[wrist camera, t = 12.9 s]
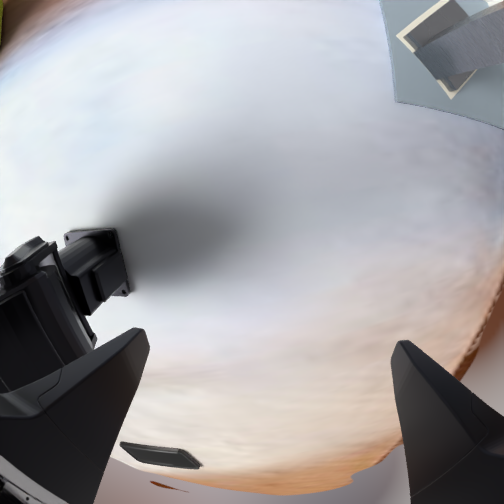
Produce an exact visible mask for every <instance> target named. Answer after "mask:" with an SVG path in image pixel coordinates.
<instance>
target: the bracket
mask: <svg viewBox="0 0 504 504" xmlns="http://www.w3.org/2000/svg"><path fill="white" fill-rule="evenodd" d="M403 38H404V39H405V40H406V41H407V42H408V43H409V44H410V45H411V46H412V47H413V48H414V50H415V51H414V52H413V53H414V55H415V56H416V57H417V58H418V59H419V60H420V61H421V62H422V64H423V65H424V66H425V67H426V68H427V69H428V71H429V72H430V73H431V74H432V75H433V77H434V78H435V79H436V80H439V79H440V80H441V81H442V83H443V84H444V85H445V87H446V88H447V89H448V91H449V92H450V91H455V90H458V89H459V88H460V86H461V85H462V84H463V83H464V82H465V81H466V80H467V79H468V77H469V76H470V75H471V74H472V73H473V72H474V71H475V70H476V69H479V68H484V67H488V66H493V65H497V64H502V63H504V1H502V2H499V3H497V4H495V5H492V6H490V7H488V8H486V9H484V10H482V11H479V12H477V13H475V14H473V15H471V16H468V14H467V13H466V12H465V11H464V10H463V9H462V8H461V7H460V5H459V4H458V3H457V2H456V1H455V0H450V1H448V2H447V3H445V4H444V5H443V6H441V7H440V8H439V9H437V10H436V11H435V12H434V13H432V14H431V15H430V16H428V17H427V18H426V19H425V20H423V21H422V22H421V23H420V24H418V25H417V26H416V27H415V28H413V29H412V30H411V31H410V32H408V33H407V34H406V35H405V36H404V37H403Z"/></svg>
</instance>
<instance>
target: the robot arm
mask: <svg viewBox="0 0 504 504" xmlns="http://www.w3.org/2000/svg"><path fill="white" fill-rule="evenodd" d="M110 233H111V234H112V236H111V235H110ZM68 237H69V238H68ZM64 240H65V245H66V247H65V248H63V249H61V250H60V251H57V248H58V247H57V244H56V241H53V242H50V243H48V242H45V241H43V240H42V239H41V238H40V237H39V236H37V237H34V238H33V239H31V240H29V241H27V242H25V243H24V244H22V245H20V246H19V247H18V248H16V249H15V250H14V251H13V252H12V253H10V254H9V255H8V256H7V257H6V259H5V262H4V264H3V265H2V266H1V267H0V504H65V503H66V502H67V503H69V504H93V503H94V500H95V497H96V494H97V491H98V488H99V485H100V482H101V479H102V476H103V474H104V471H105V468H106V465H107V463H108V460H109V457H110V455H111V452H112V449H113V447H114V444H115V442H116V439H117V437H118V434H119V431H120V429H121V426H122V424H123V422H124V419H125V417H126V414H127V412H128V409H129V407H130V405H131V402H132V400H133V397H134V395H135V393H136V390H137V388H138V386H139V383H140V380H141V377H142V373H143V370H144V367H145V364H146V360H147V357H148V354H149V350H150V346H149V342H148V339H147V336H146V333H145V330H144V329H141V328H132V329H130V330H128V331H126V332H125V333H123V334H121V335H119V336H118V337H116V338H114V339H112V340H111V341H109V342H107V343H105V344H103V345H102V346H100V347H98V348H96V349H95V350H94V347H95V344H96V341H97V337H96V335H95V333H93V331H92V329H91V327H90V326H89V324H88V322H87V320H86V317H85V316H86V315H87V316H91V315H92V314H93V312H94V311H95V310H96V309H97V308H98V307H99V306H100V305H101V304H102V303H103V302H106V301H107V300H108V299H109V298H110V297H111V296H124V297H126V296H128V295H129V294H130V288H129V284H128V280H127V274H126V270H125V266H124V262H123V258H122V254H121V251H120V246H119V242H118V237H117V233H116V231H115V230H114V229H97V230H85V231H73V232H67V233H65V234H64ZM124 290H125V291H126V292H125V291H124ZM391 369H392V377H393V385H394V394H395V401H396V406H397V411H398V416H399V421H400V426H401V431H402V437H403V443H404V449H405V455H406V462H407V469H408V478H409V487H410V496H411V498H410V499H411V504H504V416H502V415H501V414H499V413H498V412H496V411H495V410H494V409H492V408H491V407H490V406H488V405H487V404H486V403H485V402H483V401H482V400H481V399H480V398H479V397H477V396H476V395H475V394H474V393H472V392H471V391H470V390H469V389H468V388H467V387H465V386H464V385H463V384H462V383H461V382H460V381H458V380H457V379H456V378H455V377H454V376H452V375H451V374H450V373H449V372H448V371H446V370H445V369H444V368H443V367H442V366H440V365H439V364H438V363H437V362H435V361H434V360H433V359H432V358H431V357H429V356H428V355H427V354H426V353H424V352H423V351H422V350H421V349H419V348H418V347H417V346H416V345H414V344H413V343H412V342H411V341H409V340H400V341H398V342H397V344H396V346H395V349H394V352H393V354H392V357H391Z"/></svg>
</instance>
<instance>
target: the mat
mask: <svg viewBox="0 0 504 504" xmlns="http://www.w3.org/2000/svg"><path fill="white" fill-rule="evenodd" d="M379 1H380V5H381V9H382V14H383V18H384V23H385V28H386V33H387V39H388V44H389V51H390V57H391V65H392V73H393V82H394V92H395V102H400V103H406V104H412V105H417V106H422V107H427V108H432V109H436V110H440V111H445V112H449V113H453V114H456V115H460V116H464V117H467V118H471V119H474V120H477V121H480V122H484V123H487V124H490V125H492V126H495V127H498V128H501V129H504V63H502V64H497V65H493V66H488V67H484V68H479V69H476V70H475V71H474V72H473V73H472V74H471V75H470V76H469V77H468V79H467V80H466V81H465V82H464V83H463V84H462V85H461V86H460V88H459V89H458V90H455V91H450V92H449V91H448V89H447V88H446V87H445V85H444V84H443V83H442V81H441V80H440V79H439V80H436V79H435V78H434V77H433V75H432V74H431V73H430V72H429V71H428V69H427V68H426V67H425V66H424V65H423V64H422V62H421V61H420V60H419V59H418V58H417V57H416V56H415V55H414V53H413V52H414V51H415V50H414V48H413V47H412V46H411V45H410V44H409V43H408V42H407V41H406V40H405V39H404V38H403V37H404V36H405V35H406V34H407V33H408V32H410V31H411V30H412V29H413V28H415V27H416V26H417V25H418V24H420V23H421V22H422V21H423V20H425V19H426V18H427V17H428V16H430V15H431V14H432V13H434V12H435V11H436V10H437V9H439V8H440V7H441V6H443V5H444V4H445V3H447V2H448V1H450V0H379ZM455 1H456V2H457V3H458V4H459V5H460V7H461V8H462V9H463V10H464V11H465V12H466V13H467V14H468V16H471V15H473V14H475V13H477V12H479V11H482V10H484V9H486V8H488V7H489V6H488V3H487V2H485V1H484V0H455Z"/></svg>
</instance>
